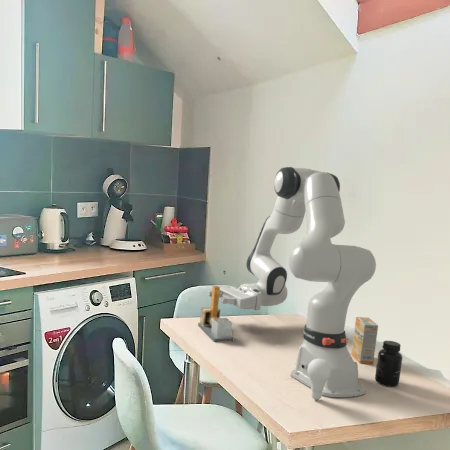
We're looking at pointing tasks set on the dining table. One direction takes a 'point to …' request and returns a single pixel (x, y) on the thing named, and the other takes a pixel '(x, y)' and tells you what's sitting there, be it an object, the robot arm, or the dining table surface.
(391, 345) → the supplement bottle
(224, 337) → the matte gray cube
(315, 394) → the lightbulb
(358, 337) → the supplement box
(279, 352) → the dining table surface
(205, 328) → the slate board
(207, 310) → the socket block
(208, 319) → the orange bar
